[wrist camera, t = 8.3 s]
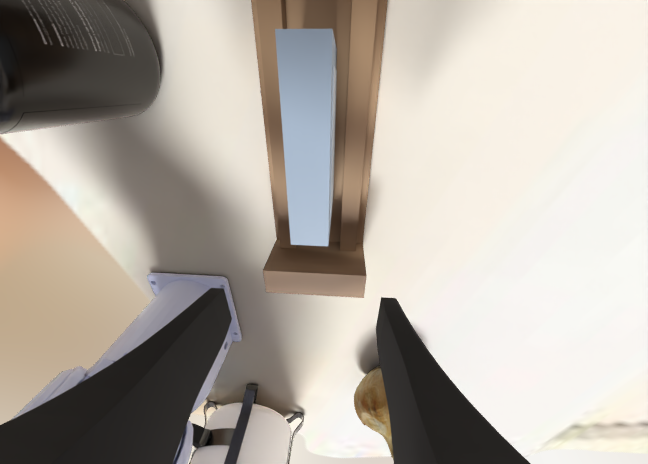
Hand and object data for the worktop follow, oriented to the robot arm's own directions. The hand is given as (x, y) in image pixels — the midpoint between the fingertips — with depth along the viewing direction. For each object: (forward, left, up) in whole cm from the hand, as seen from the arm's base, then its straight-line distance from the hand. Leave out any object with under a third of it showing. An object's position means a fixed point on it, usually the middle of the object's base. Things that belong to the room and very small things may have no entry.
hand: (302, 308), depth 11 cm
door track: (+6, 0, -10) cm, 12 cm away
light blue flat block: (+6, 0, -9) cm, 11 cm away
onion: (-21, -8, -10) cm, 25 cm away
